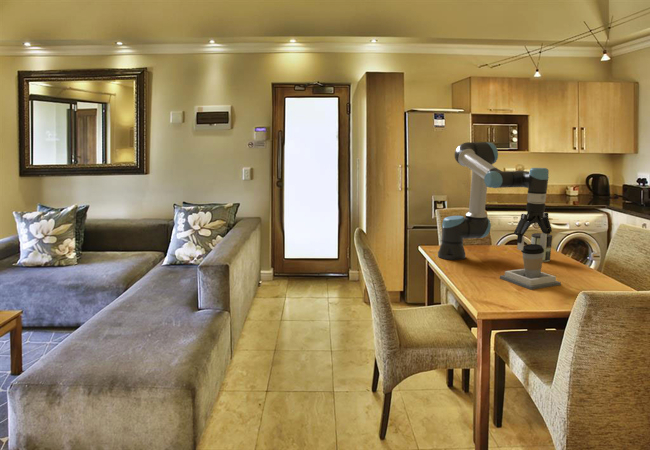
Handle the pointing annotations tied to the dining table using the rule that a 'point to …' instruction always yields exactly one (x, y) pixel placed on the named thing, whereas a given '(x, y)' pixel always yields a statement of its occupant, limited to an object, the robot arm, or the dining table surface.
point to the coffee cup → (532, 260)
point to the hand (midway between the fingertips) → (531, 248)
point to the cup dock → (535, 283)
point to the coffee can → (547, 250)
